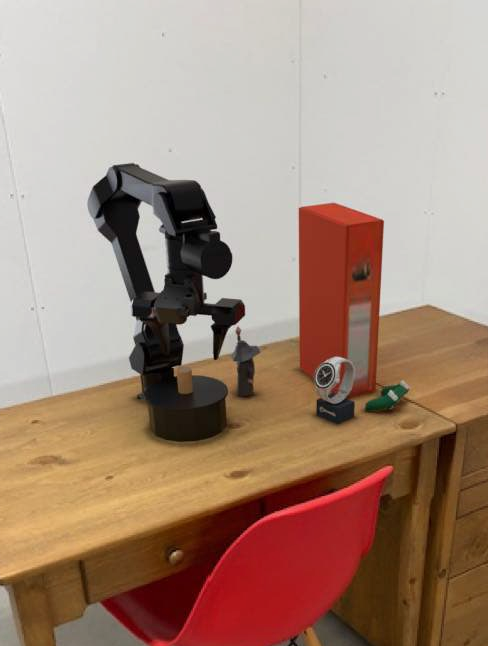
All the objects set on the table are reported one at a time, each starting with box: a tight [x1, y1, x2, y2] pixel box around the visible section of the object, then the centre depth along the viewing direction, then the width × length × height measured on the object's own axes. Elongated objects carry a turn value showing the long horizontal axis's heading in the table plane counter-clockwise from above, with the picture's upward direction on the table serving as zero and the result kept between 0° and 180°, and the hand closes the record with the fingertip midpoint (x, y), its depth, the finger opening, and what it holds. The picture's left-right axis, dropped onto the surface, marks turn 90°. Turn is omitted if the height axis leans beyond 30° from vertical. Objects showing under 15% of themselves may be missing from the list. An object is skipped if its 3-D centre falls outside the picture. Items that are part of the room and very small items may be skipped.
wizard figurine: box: [230, 325, 261, 397], centre depth 153 cm, size 8×6×12 cm
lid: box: [143, 366, 229, 411], centre depth 138 cm, size 15×15×5 cm
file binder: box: [298, 202, 385, 399], centre depth 152 cm, size 8×17×32 cm, turn 26°
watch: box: [313, 357, 356, 425], centre depth 143 cm, size 6×8×11 cm
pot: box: [147, 398, 228, 443], centre depth 141 cm, size 14×14×6 cm
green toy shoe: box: [364, 379, 410, 412], centre depth 149 cm, size 9×4×6 cm
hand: (191, 356), depth 138 cm, fingers open, 9 cm apart
